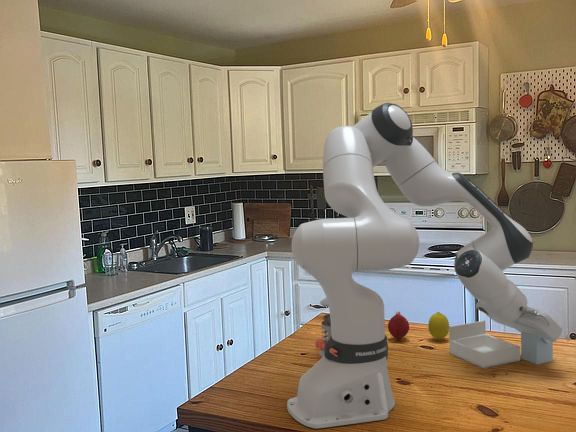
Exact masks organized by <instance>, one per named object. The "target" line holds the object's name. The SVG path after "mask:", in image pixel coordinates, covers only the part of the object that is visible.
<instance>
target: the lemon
mask: <svg viewBox="0 0 576 432" xmlns="http://www.w3.org/2000/svg"><path fill="white" fill-rule="evenodd" d="M427 324H428V325H427V327H428V331H429V334H430V336H432V337H433V338H435V339H436V340H437V341H441V340H442V339H444V338H446V337H447V336H448V335H449V327H450V323H449V320H448V317H447V316H446V315H445V314H443V313H441V312H440V311H437V312H436V313H434V314H432V315H431V316H430V318H429V320H428V323H427Z"/></svg>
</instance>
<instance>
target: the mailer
mask: <svg viewBox="0 0 576 432" xmlns="http://www.w3.org/2000/svg"><path fill="white" fill-rule="evenodd" d="M486 329H487V327H486V320H479V321H474V322H468V323H462V324H457V325H451V326H450V325H449V332H448V339H449V354H450V355H452V356H454V357H457V358H459V359H461V360H463V361H465V362H468V363H470V364H472V365H474V366H476V367H478V368H481V369H483V370H484V369H488V368H493V367H498V366H503V365H507V364H510V363H511V364H512V363H515V362H519V361H521V346H519V345H516V344H513V343H512V342H510V341H509V342H508V341H506V340H504V339H500V338H497V337H495V336H492V335H490V334H488V333H486Z"/></svg>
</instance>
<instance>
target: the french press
mask: <svg viewBox="0 0 576 432" xmlns="http://www.w3.org/2000/svg"><path fill="white" fill-rule="evenodd" d="M319 304H320V305H321V306H323V307H326V308H329V304H328V300H327V297H325V298H322V300H320V302H319ZM322 320H323V321H321V329H323V330H321V333H322V334H321V339H322V340H323V341H325V342H326V343H327V342H328V340H329V338H330V336H331V319H330V313H328V314H324V315H323V316H322ZM318 354H319V355H320V357H321V358H322V357H323V356H324V350H319V352H318Z"/></svg>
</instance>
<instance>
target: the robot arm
mask: <svg viewBox="0 0 576 432" xmlns="http://www.w3.org/2000/svg"><path fill="white" fill-rule="evenodd" d="M413 130H414V127H413V123H412V120H411V117H410V116H409V115H408V113H407V111H405V110H404V109H403V108H402V107H401V106H399V105H397V104H395V103H391V102H384V103H381V104H380V105H378V106H377V107H375V108H374V109H372V110H371V112H369V113H368V114H367V115H366V116H364V117H363V118H361V120H359V121H358V122H357V123H355V124H354V125H353V126H351V125H342V126H338V127H336V128H334V129H332V130H331V131H330V132H329V133H327V136H326V138H325V141H324V147H323V155H322V175H323V176H322V177H323V188H324V189H323V190H324V198H325V201H326V203H327V204H328V206H329V207H330V208H331V209H332V210H333V211H334V212H336V213H338V214H340V215H343V216H344V217H336V218H332V217H331V218H320V219H315V220H312V221H308V222H304V223H301V224H299V226H298V227H296V228H297V229H296V230H295V231H294V233H293V235H292V238H291V252H292V256H293V258H294V259H293V260H295V262H296V263H297V265H298V266H299V267H300V268H301V269H302V270H303V271H305V272H307V273H308V274H309V275H310V276H311V277H313V278H314V279H315V280H316V281H317V284H318V283H319V285H320V287H321V289H322V290H323V292H324V294H325V298H327V300H328V304H329V307H328V310H329V314H330V319H331V336H330V338H329V340H328V342H325V341H323V340H324V339H323V338H317V339H315V341H314V346H315V348H316V349H318V350H319V351H321V350H324V356H323V357H322V356H321V358H320V359H319V360H318V361H317V362H316V363H314V365H312V366H311V367H310V368H309V369H308V370H307V371H306V372H305V373H304V374H302V375H301V376H300V379H299V382H298V386H297V394H296V396H295V397H291V398H289V399H288V400H287V402H286V409H287V412H288V413H289V415H290V416H291V417H292V418H293V419H295V421H296V422H298V423H300V424H301V425H303V426H305V427H308V428H311V429H324V428H325V429H326V428H333V427H339V426H346V425H354V424H355V425H356V424H363V423H368V422H376V421H383V420H387V419H388V418H389V412H390V411H391V410H392V409H393V408H394V406H395V405H396V400H395V397H394V393H393V390H392V387H391V382H390V377H389V372H388V371H389V370H388V363H387V361H388V356H389V348H388V346H389V344H388V335H386V327H385V325H386V324H385V323H386V322H385V321H386V320H385V303H384V300H383V299H382V297H381V295H379V293H378V292H376V291H375V290H373V289H372V288H369V287H367V286H364V285H362V284H359V283H358V282H357V281H355V280H354V278H353V273H355V272H364V271H367V272H368V271H390V270H394V269H398V268H402V267H406V266H409V265H411V264H412V263H413V262H414V260H415V258H416V257H417V255H418V252H419V249H420V238H419V233H418V231H417V228H416V227H415V225H414V224H413V223H412V222H411V221H410V220H409V219H408V218H405V217H403V216H402V215H400V214H398V213H396V212H395V211H394V210H392V209H391V208H390V207H389V206H388V205H387V204H386V203H385V202H384V201H383V200H382V197H381V196H380V194H379V193H378V189H377V185H376V180H375V174H374V168H375V167H376V166H378V165H379V164H380V163H382V164H383V165H384V166H385V167H386V170H387V172H388V173H389V175H390V177H391V178H392V180H393V182H394V184H396V186H397V187H398V189H399V190H400V191H401V193H402V194H403V195H404V197H405V198H406V199H407V200H408V201H409V202H411V204H413V205H416V206H420V207H432V206H438V205H441V204H446V203H451V202H464V203H467V204H469V206H472V207H473V208H474V209H475V211H477V212H478V213H479V215H481V216H482V217H483V218H484V219H485V220H486V221H487V222H488V223H489V224H490V225H491V226H492V228H491V229H490V230H488V231H487V232H486V233H484V234H482V235H481V236H479V237H478V238H476V239H475V240H472V241H471V242H469V243H467V244H466V245H465V246H463V247H461V248H460V249H458V250H457V252H456V253H455V258H454V263H453V264H454V265H453V267H454V272H455V275H456V276H457V278H458V280H459V281H460V282H461V284H462V285H463V286H464V288H465V289H466V290H467V291H468V292H469V293H470V295H471V296H472V297H473V298H474V299H475V300H477V303H476V304H475V308H476V309H477V310H478V311H480V312H482V313H484V314H485V316H487V317H488V318H489V319H490V320H492V321H493V322H495V323H497V324H501V325H503V326H506V327H509V328H512V329H513V330H514V329H515V330H516V331H517V332H519V333H521V331H523V332H526V333H529V334H532V335H535V336H538V337H541V340H542V341H543V342H544V343H547V344H550V343H551V342H552V341H553V343H555V342H557V340H558V339H560V336H561V335H562V333H563V327H562V326H561V325H560V324H559V323H557V321H556V320H554V318H552V317H551V316H550V315H549V314H548V313H546V312H544V311H543V310H540V309H538V308H537V309H536V308H534V307H531V306H528V298H527V296H526V295H525V294H524V293H523V292H522V291H521V290H520V289H519V287H518V286H517V285H516V284H515V283H514V282H513V281H511V280H510V279H508V278H507V275H506V274H505V273H504V271H505V270H507V269H509V268H510V267H512V266H513V265H517V264H519V263H520V262H523V261H525V260H527V259H530V255H531V254H532V251H533V246H534V241H533V238H532V236H531V235H530V233H529V232H528V231H527V229H526V228H525V227H524V226H523V225H521V224H520V223H518V222H516V220H514V219H513V218H512V217H511V216H510V215H509V214H507V213H506V212H505V211H504V210H503V209H502V208H501V207H500V206H499V205H498V204H497V203H496V202H494V200H493V199H492V198H490V196H488V195H487V194H486V193H485V192H484V191H483V190H482V189H481V188H480V187H478V185H476V184H475V183H474V182H473V181H471V180H470V178H468V177H467V176H466V175H464V174H462V173H460V172H450V171H447V170H446V169H444V168H443V167H442V166H441V165H440V164H438V162H437V161H436V160H435V158H433V156H432V155H431V154H430V153H429V151H428V150H427V148H425V147H424V146H423V144H422V143H420V141H418V140H417V139H416V138H415V137H414V135H413V134H414V131H413Z"/></svg>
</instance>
